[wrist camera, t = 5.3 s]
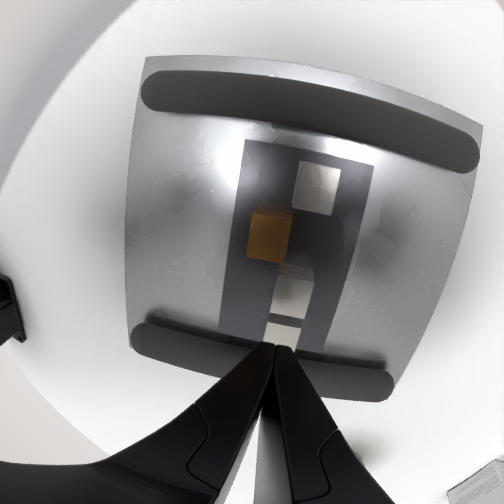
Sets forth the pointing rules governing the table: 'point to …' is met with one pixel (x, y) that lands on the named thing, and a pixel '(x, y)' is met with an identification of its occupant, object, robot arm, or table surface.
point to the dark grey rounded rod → (227, 356)
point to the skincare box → (481, 487)
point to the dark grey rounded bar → (312, 112)
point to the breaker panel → (289, 226)
